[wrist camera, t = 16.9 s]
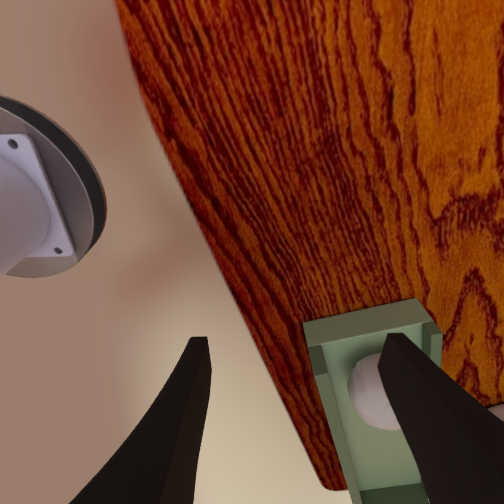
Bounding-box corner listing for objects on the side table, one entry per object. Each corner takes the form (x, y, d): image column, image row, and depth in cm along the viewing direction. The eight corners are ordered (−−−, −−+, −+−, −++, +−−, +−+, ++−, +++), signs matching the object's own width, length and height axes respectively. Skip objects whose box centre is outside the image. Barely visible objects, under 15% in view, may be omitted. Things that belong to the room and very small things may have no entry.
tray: (302, 322, 24) (314, 376, 20) (416, 297, 23) (455, 349, 18) (345, 471, 38) (358, 522, 34) (417, 461, 37) (440, 512, 33)
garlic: (351, 334, 21) (379, 403, 17) (423, 339, 22) (468, 408, 17) (331, 384, 24) (349, 454, 20) (393, 388, 25) (425, 458, 20)
